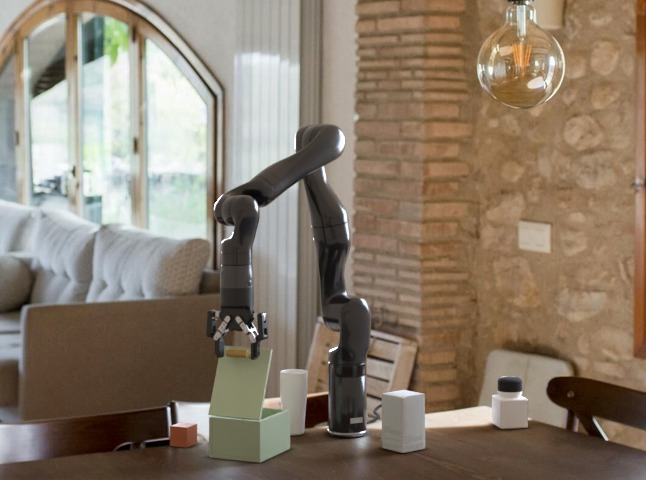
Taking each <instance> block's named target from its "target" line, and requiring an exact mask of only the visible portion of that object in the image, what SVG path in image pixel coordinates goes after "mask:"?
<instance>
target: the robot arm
mask: <svg viewBox="0 0 646 480" xmlns="http://www.w3.org/2000/svg"><path fill="white" fill-rule="evenodd" d="M345 148H346V135H345V134H344V131H343V130H342V128H341V127H339V125H336V124H333V123H316V124H315V123H314V124H305V125H302V126H300V127H299V128H298V130H297V131H296V133H295V136H294V151H295V152H294V153H292V154H291V155H289V156H287V157H285V158H283V159H280V160H278V161H276V162H274V163H272V164H270V165H268V166H267V167H265V168H263V169H262V170H260V172H259V173H257V174H256V175H255V176H254V177H251V179H250V180H249V181H247V182H245V183H242V184H240V185H238V186H236V187H234V188H232V189H229V190H228V191H227V192H224V193H223V194H222V195H221V196H220V197H219V198H217V201H216V202H215V203H214V207H213V217H214V219H215V220H216V222H218V223H219V224H220V225H222V226H225V227H233V231H232V235H231V236H230V237H226V238H224V239H223V240H222V241H221V244H220V272H219V306H220V310H217V309H211V310H208V311H207V315H206V333H205V334H206V337H207V338H211V339H213V340H214V355H215V356H216V358H217V359H219V358H222V357H224V346H225V339H224V338H225V336H226V335H227V334H228V332H234V331H236V332H241V333H242V332H243V333H244V334H245V335H246V336H247V337H248V338H249V340H250V347H251V360H256V359H258V357H259V356H260V348H261V342H262V341H265V340H268V338H269V321H268V313H267V312H266V311H261V312H255V310H254V306H255V273H254V264H253V263H254V262H253V261H254V257H253V256H254V252H253V247H254V242H255V238H256V235H257V231H258V228H259V227H258V226H259V222H260V217H261V210H260V209H261V208H265V207H267V206H269V205H270V204H272V203H274V201H275V200H277V199H279V197H281V195H283V194H284V193H285V192H286V191H288V190H289V189H290V188H292V187H293V186H294V185H296V184H297V183H299V182H300V181H302V182H303V187H304V191H305V197H306V202H307V208H308V212H309V221H310V229H311V235H312V240H313V245H314V249H315V251H314V252H315V257H316V264H317V265H316V266H317V271H318V277H319V278H318V279H319V280H318V281H319V294H320V295H319V296H320V309H321V318H322V320H323V323H324V326H326V328H327V329H328V330H329V331H332V332H334V333H339V341H338V344H337V346H336V347H333V348H331V349H329V351H328V361H327V362H328V367H327V369H328V379H327V381H328V388H327V389H328V392H327V393H328V395H327V396H328V399H327V401H328V406H327V407H328V416H327V417H328V418H327V419H328V421H327V423H328V424H327V425H328V428H327V434H328V435H329V436H332V437H336V438H358V437H359V438H360V437H364V436H366V435H367V434H368V427H367V425H369V424H373V423H375V422H377V421H378V420H379V419H380V417H381V415H380V414H379V412H377V411H378V410H379V409H380V408H382V403H380V404H378V405H377V406H376V407H375V408H373V410H372V413H373V415H374V416H375V417H374V418H372V419H371V420H369V421H368V419H367V417H368V416H367V414H368V413H367V412H368V408H367V405H368V403H367V401H368V399H367V398H368V397H367V395H368V394H367V393H368V392H367V390H368V387H367V386H368V382H367V381H368V379H367V378H368V375H367V374H368V373H367V372H368V371H367V370H368V369H367V366H368V365H367V364H368V362H367V359H368V353H369V352H370V348H371V347H370V346H371V335H372V334H371V332H372V329H371V328H372V314H371V312H372V311H371V308H370V305H369V302H368V301H367V300H366V299H365V298H363V297H361V296H357V295H350V294H348V289H347V284H346V278H345V275H346V274H345V271H346V264H347V261H348V257H349V254H350V252H351V247H352V230H351V225H350V219H349V214H348V211H347V209H346V207H345V205H344V204H343V201H342V200H341V199H340V197H339V196H338V194H337V192H335V190H334V189H333V187H332V186H331V183H330V182H329V179H328V176H327V172H326V167H325V166H327V165H329V164H331V163H332V162H334V161H336V160H338V159H339V158H340V157H341V156H342V155H343V153H344V151H345ZM219 319H220V320H221V324H220V325H219V327H218V320H219ZM254 320H255V322H256V323H257V327H256V325H255V324H254V322H253V321H254Z"/></svg>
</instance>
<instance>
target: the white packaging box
mask: <svg viewBox="0 0 646 480" xmlns="http://www.w3.org/2000/svg"><path fill="white" fill-rule="evenodd" d="M425 395H426V394H425V393H424V392H423V393H422V392H417V391H412V390H407V389H400V390H393V391H389V392H388V391H387V392H382V393H381V404H382V407H381V449H385V450H389V451H393V452H397V453H401V454H405V453H411V452H415V451H421V450H425V449H426V404H425V402H426V396H425Z"/></svg>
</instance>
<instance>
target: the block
mask: <svg viewBox="0 0 646 480" xmlns="http://www.w3.org/2000/svg"><path fill="white" fill-rule="evenodd" d="M197 444H198V423H192V422H178V423H174V424H171V425H169V446H170V447H175V448H176V447H177V448H183V449H184V448H186V449H187V448H190V447H192V446H196V445H197Z"/></svg>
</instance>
